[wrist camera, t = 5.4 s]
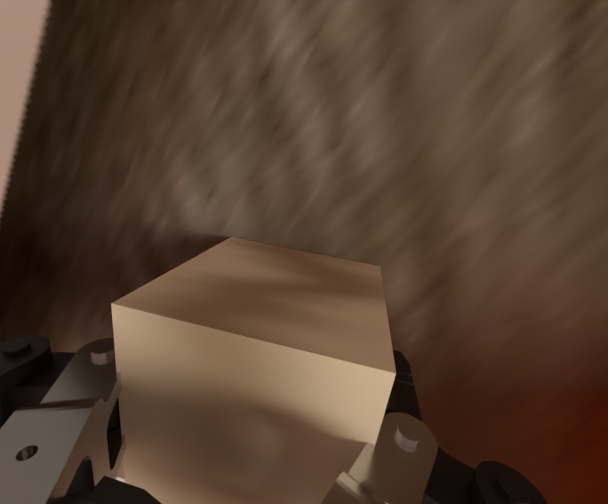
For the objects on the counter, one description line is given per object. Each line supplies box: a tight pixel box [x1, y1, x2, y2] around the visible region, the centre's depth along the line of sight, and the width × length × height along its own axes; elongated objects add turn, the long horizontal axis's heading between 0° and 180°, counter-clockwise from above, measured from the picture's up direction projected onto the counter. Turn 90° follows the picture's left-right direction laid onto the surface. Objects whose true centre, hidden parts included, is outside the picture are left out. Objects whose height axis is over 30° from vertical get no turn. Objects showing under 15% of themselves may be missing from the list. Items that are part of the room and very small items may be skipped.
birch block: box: [111, 237, 396, 504], centre depth 10 cm, size 6×6×6 cm
